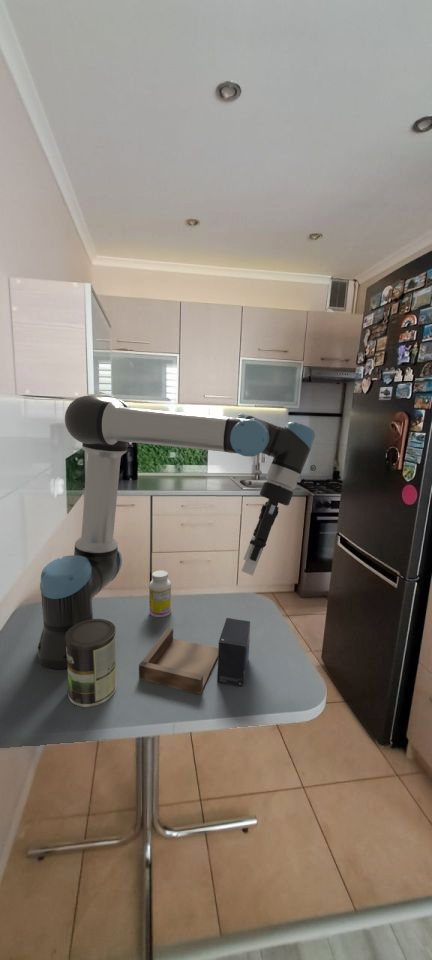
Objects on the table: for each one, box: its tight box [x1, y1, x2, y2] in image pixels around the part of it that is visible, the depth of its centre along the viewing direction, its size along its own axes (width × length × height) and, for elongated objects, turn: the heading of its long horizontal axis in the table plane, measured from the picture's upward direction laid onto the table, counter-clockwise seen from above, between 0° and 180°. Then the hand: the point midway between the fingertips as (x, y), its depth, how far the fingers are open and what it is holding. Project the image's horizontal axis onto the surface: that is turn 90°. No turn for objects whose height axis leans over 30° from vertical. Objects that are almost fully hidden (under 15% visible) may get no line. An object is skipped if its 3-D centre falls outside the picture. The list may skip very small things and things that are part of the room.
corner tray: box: [138, 627, 218, 696], centre depth 89 cm, size 15×16×4 cm
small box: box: [216, 617, 251, 687], centre depth 87 cm, size 11×6×10 cm, turn 168°
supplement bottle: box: [148, 569, 172, 618], centre depth 112 cm, size 7×7×13 cm
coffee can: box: [65, 618, 118, 708], centre depth 80 cm, size 10×10×14 cm
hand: (247, 566), depth 89 cm, fingers open, 13 cm apart
